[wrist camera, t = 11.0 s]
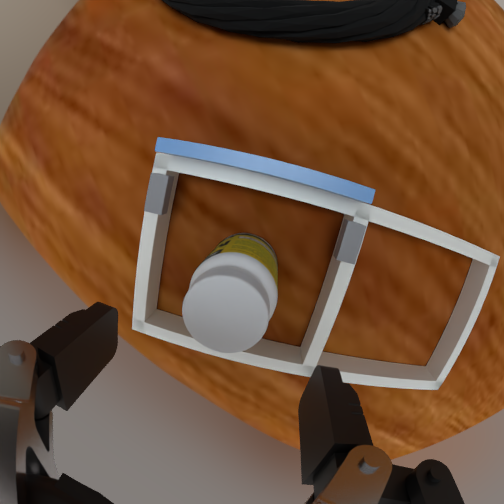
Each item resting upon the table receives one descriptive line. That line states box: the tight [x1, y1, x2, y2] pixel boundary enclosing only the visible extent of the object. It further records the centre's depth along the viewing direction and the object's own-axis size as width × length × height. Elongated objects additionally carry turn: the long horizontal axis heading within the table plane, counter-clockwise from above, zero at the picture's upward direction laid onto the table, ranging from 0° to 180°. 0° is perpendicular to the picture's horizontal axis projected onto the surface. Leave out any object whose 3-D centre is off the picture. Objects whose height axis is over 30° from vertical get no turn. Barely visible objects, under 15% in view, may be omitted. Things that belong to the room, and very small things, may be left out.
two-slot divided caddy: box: [132, 137, 500, 390], centre depth 18 cm, size 27×14×5 cm, turn 76°
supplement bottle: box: [182, 233, 278, 353], centre depth 16 cm, size 5×5×8 cm
